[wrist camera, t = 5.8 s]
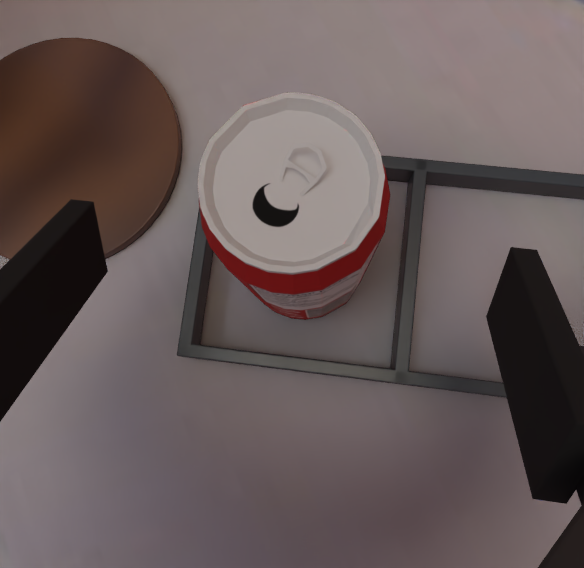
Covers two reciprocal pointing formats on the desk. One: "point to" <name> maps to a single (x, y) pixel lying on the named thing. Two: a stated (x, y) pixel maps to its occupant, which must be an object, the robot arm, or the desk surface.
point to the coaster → (83, 140)
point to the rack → (417, 178)
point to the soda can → (294, 201)
